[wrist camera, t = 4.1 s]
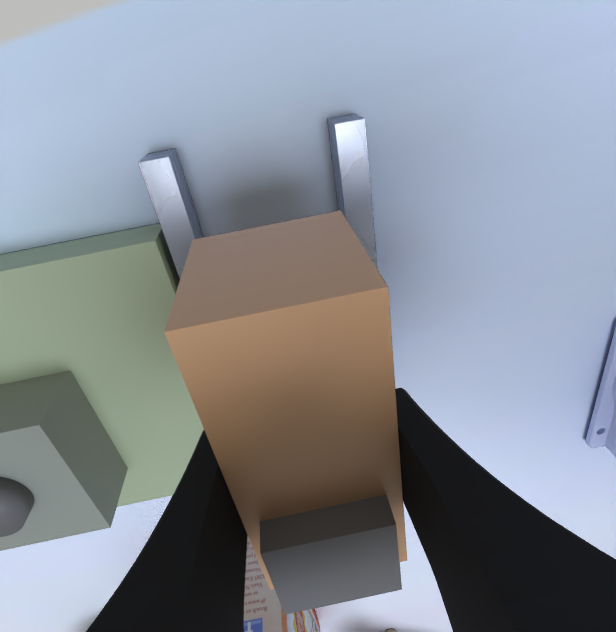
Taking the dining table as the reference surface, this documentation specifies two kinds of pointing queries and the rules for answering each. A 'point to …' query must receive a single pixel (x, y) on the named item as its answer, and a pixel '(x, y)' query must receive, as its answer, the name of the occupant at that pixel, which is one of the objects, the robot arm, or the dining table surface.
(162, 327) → the deck
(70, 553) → the dining table surface
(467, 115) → the dining table surface
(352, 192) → the pair of grey bars
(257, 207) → the dining table surface
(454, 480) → the robot arm
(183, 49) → the dining table surface
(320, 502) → the orange wooden block
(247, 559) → the cracker box
